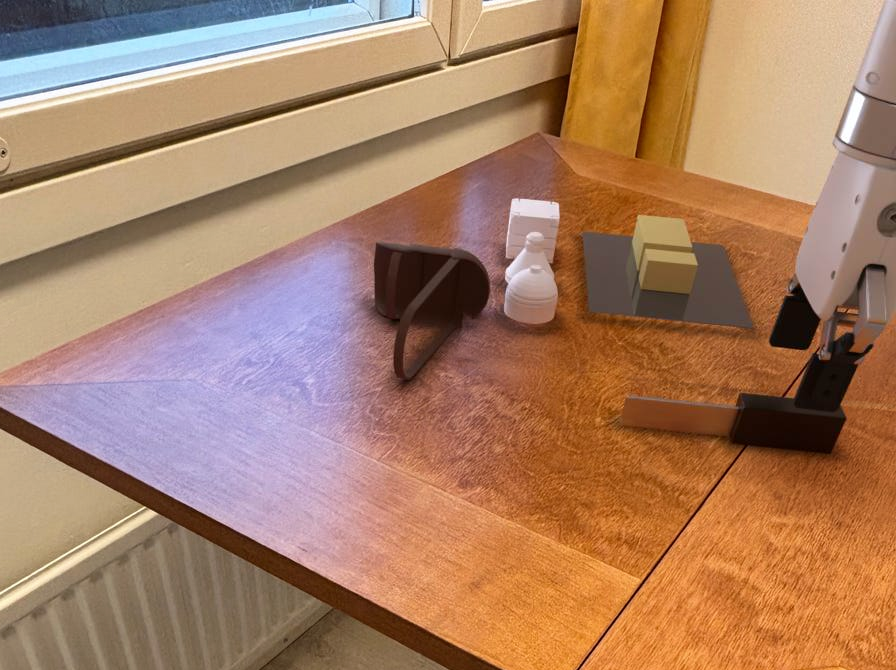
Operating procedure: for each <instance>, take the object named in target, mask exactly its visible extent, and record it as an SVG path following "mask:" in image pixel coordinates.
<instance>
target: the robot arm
mask: <svg viewBox="0 0 896 670" xmlns="http://www.w3.org/2000/svg"><path fill="white" fill-rule="evenodd" d="M831 144H832V146H833V147H834V149H835V150H836V151H838V153H837V155H836V156H835V159H834V161H833V164H832V165H831V168H830V170H829V172H828V175H827V176H826V179H825V181H824V184H823V185H822V188H821V191H820V193H819V196H818V198H817V201H816V203H815V206H814V208H813V211H812V212H811V216H810V217H809V221H808V223H807V226H806V228H805V231H804V234H803V237H802V240H801V242H800V245H799V249H798V252H797V254H796V255H797V256H796V259H795V265H794V272H795V273H794V274H793V275H792V277H790V279H789V281H788V284H787V289H786V293H787V294H785V295H784V298H783V301H782V303H781V306H780V308H779V311H778V313H777V316H776V319H775V321H774V324H773V327H772V329H771V333H770V335H769V338H768V343H769V345H770V347H773V348H780V349H789V350H797V351H808V349H810V348H811V345H812V343H813V340H814V337H815V335H816V333H817V330H818V327H819V325H820V323H821V321H823V322H822V329H821V336H820V343H819V349H818V353H815V352H812V354H811V356H810V358H809V361H808V362H807V365H806V368H805V370H804V373H803V375H802V378H801V380H800V382H799V385H798V388H797V390H796V392H795V394H794V397H793V398H794V399H793V403H794V405H795V407H796V408H801V409H809V410H818V411H826V412H835V411H837V410H838V409H839V407H840V405H841V404H842V403H843V400H844V398H845V396H846V393H847V391H848V389H849V387H850V385H851V382H852V380H853V378H854V376H855V373H856V372H857V369H858V367H859V366H861V365H862V364H863V362H864V360H865V359H866V355H868V354H869V353H870V351H871V350H873V348H874V342H875V341H876V340H877V339H878V337H879V336H880V335H881V334H882V332H883V331H884V330H885V329H886V326H888V325H889V324H890V322H891V321H892V320H893V317H894V316H895V313H896V0H883V2H882V6H881V8H880V11H879V14H878V16H877V19H876V22H875V24H874V27H873V29H872V33H871V36H870V39H869V41H868V43H867V46H866V49H865V52H864V55H863V57H862V60H861V63H860V65H859V68H858V71H857V74H856V77H855V79H854V82H853V85H852V87H851V90H850V92H849V95H848V98H847V101H846V103H845V105H844V109H843V111H842V115H841V118H840V120H839V122H838V126H837V128H836V130H835V134H834V136H833V139H832V143H831ZM838 309H845V310H846V309H847V310H856V311H857V313H854V312H853V313H852V312H846V311H845V312H844V311H838ZM838 327H846V328H852V331H851V332H850V331H847V332H844V333H843V334H842V335H840V336H839V337H838V338H836V337H837V336H836V335H837V330H838ZM841 406H842V405H841Z"/></svg>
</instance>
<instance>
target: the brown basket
mask: <svg viewBox="0 0 896 670" xmlns="http://www.w3.org/2000/svg"><path fill="white" fill-rule="evenodd" d="M373 276H374V277H373V278H374V280H373V282H374V287H373V288H374V289H373V291H374V292H373V294H374V295H373V296H374V305H375V308H376V310H377V312H378V313H379V314H380V315H382V316H384V317H386V318H388V319H393V320H400V321H399V324H398V327H397V331H396V335H395V340H394V345H393V355H392V360H393V362H392V365H393V371H394V374H395V376H396V378H399V379H403V380H406V381H407V380H411V379H412V378H413V377H414V376H415V375H416V374H417V373H418V372H419V370H420V369H422V367H423V366H424V365H425V364H426V363H427V362H428V360H430V358H431V357H432V356H433V355H434V354H435V352H436V351H437V350H438V349H439V348H440V347H441V346H442V345H443V344H444V342H445V341H446V340H447V339H448V338H449V336H450V335H451V334H452V333H453V332H454V330H455V329H456V328H460V327H462V326H463V322H464V313H465V310H466V311H467V312H469V314H470V316H471V318H472V320H475V319H476V318H477V317H478V316H479V315H480V314H481V313H482V312H483V311H484V309H485V308H486V306H487V305H488V302H489V298H490V294H491V280H490V279H491V278H490V275H489V272H488V271H487V268H486V267H485V265H484V263H483V262H482V261H481V260H480V258H478V257H477V256H476V255H475V254H473V253H472V252H470V251H468V250H466V249H465V250H464V249H462V248H457V247H454V248H447V247H440V246H432V245H425V244H424V245H423V244H415V243H411V244H409V245H408V244H400V243H393V242H386V241H385V242H384V241H377V242H375V250H374V258H373ZM411 324H418V325H425V326H432V327H433V326H434V327H440V328H441V327H442V328H443V329H442V330H441V331H440V333H439V334H438V335H437V336H436V337H435V338H434V340H432V341H431V343H430V344H429V345H428V346H427V347H426V348H425V350H423V352H421V354H420V355H419V356H418V357H417V358H416V360H414V361H413V363H412V364H411V365H410V366H409V367H408V368H407V369H406V371H405V369H404V352H405V344H406V341H407V340H406V339H407V335H408V331H409V329H410V325H411Z"/></svg>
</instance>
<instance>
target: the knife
mask: <svg viewBox="0 0 896 670" xmlns="http://www.w3.org/2000/svg"><path fill="white" fill-rule="evenodd" d="M793 399H794V397H786V396H777V395H767V394H758V393H757V394H756V393H748V392H739V394H738V397H737V399H736V401H735V402H736V403H735V405H729V404H718V403H709V402H700V401H691V400H679V399H671V398H661V397H653V396H652V397H651V396H641V395H633V394H626V396H625V399H624V402H623V403H624V404H623V407H622V411H621V415H620V419H619V426H623V427H632V428H640V429H641V428H642V429H649V430H650V429H651V430H652V429H653V430H660V431H670V432H677V433H678V432H680V433H687V434H688V433H689V434H697V435H706V436H707V435H708V436H716V437H725V438H726V437H727V438H729V440H730V443H731V444H732V445H741V446H749V447H758V448H759V447H760V448H769V449H778V450H786V451H787V450H788V451H797V452H805V453H806V452H808V453H815V454H825V455H826V454H827V455H831V454H832V452H833V450H834V447H835V445H836V443H837V442H838V439H839V437H840V435H841V433H842V430H843V428H844V426H845V423H846V422H847V420H848V417H847V415H846V413H845V411H844V409H843V407H842V405H840V407H839V409H838V410H837V411H835V412H826V411H818V410H809V409H801V408H796V407H795V405H794V403H793Z"/></svg>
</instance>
